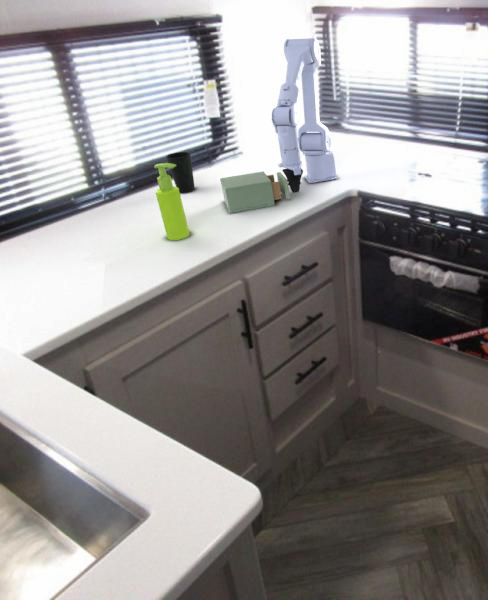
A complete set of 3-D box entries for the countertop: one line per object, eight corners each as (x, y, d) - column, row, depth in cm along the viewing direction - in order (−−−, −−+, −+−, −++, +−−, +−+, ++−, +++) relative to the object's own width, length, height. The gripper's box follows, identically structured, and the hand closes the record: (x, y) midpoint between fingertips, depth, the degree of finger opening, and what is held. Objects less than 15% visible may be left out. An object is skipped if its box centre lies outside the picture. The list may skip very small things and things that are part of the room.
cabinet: (267, 194, 184) (263, 171, 180) (274, 205, 175) (271, 181, 171) (224, 201, 180) (219, 178, 176) (230, 213, 171) (225, 188, 167)
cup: (201, 186, 196) (193, 151, 190) (192, 193, 189) (184, 157, 183) (180, 187, 197) (171, 152, 191) (170, 194, 190) (161, 158, 184)
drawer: (296, 187, 186) (294, 169, 183) (304, 196, 178) (302, 178, 175) (244, 196, 181) (241, 178, 178) (249, 206, 172) (246, 187, 170)
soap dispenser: (186, 240, 154) (168, 167, 144) (163, 239, 155) (144, 167, 145) (196, 232, 159) (180, 160, 149) (174, 231, 160) (156, 160, 150)
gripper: (271, 144, 175) (277, 187, 182) (281, 155, 163) (288, 200, 170) (293, 141, 177) (299, 183, 184) (305, 151, 165) (311, 196, 172)
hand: (295, 191), depth 177 cm, fingers closed, pressing on drawer
